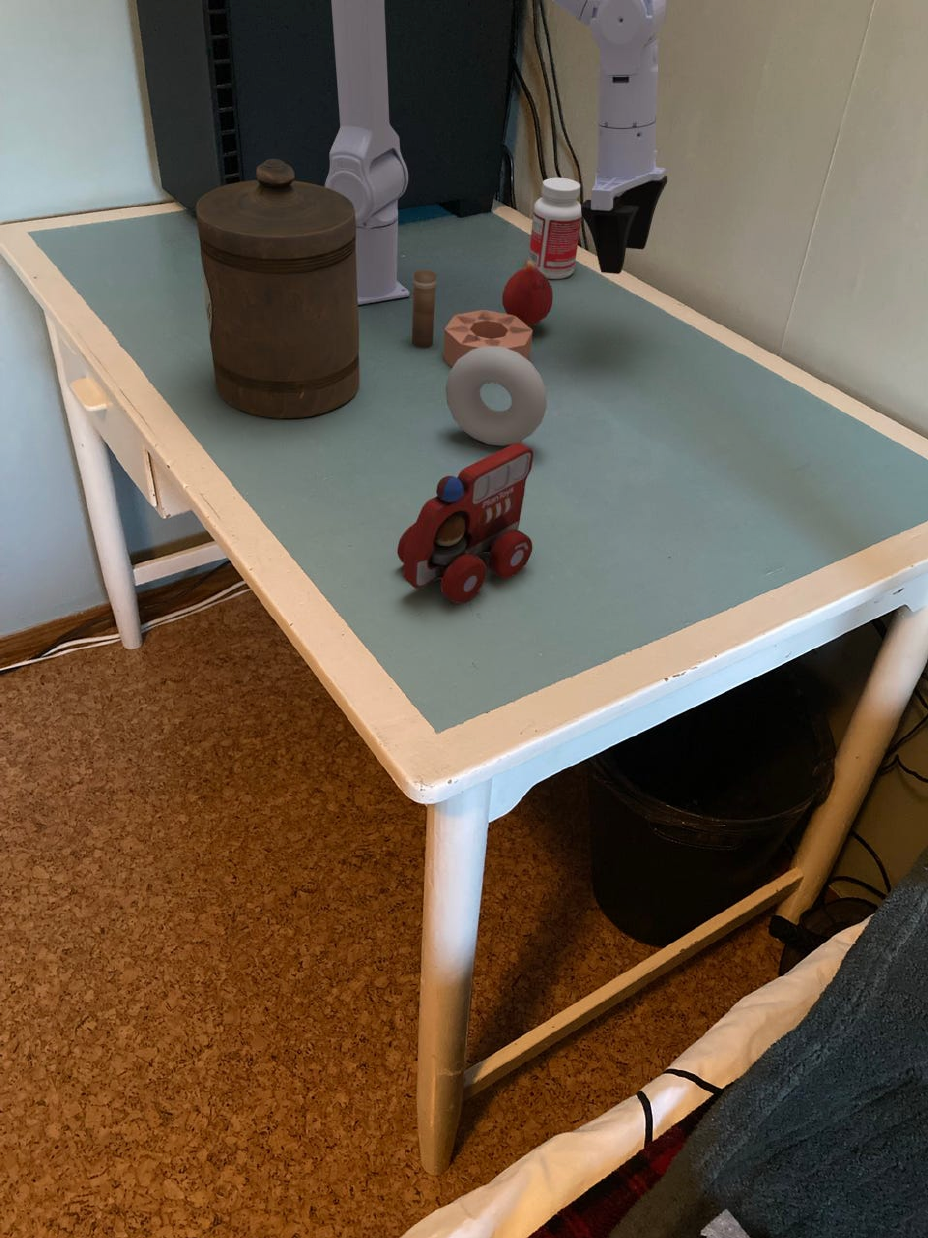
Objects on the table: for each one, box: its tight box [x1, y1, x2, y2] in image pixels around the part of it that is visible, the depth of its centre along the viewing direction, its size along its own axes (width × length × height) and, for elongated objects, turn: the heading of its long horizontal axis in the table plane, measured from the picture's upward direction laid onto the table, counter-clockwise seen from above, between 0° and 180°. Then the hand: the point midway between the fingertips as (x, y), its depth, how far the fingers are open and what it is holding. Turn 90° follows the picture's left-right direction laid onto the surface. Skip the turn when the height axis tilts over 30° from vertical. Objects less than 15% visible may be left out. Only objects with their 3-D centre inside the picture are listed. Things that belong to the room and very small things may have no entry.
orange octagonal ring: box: [442, 309, 534, 369], centre depth 107 cm, size 9×9×4 cm
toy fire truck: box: [396, 442, 534, 604], centre depth 77 cm, size 7×12×10 cm, turn 132°
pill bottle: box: [527, 177, 583, 280], centre depth 123 cm, size 6×6×11 cm
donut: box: [445, 346, 548, 447], centre depth 92 cm, size 10×3×10 cm, turn 71°
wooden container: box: [195, 158, 360, 419], centre depth 94 cm, size 15×15×22 cm
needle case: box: [411, 269, 437, 349], centre depth 107 cm, size 2×2×8 cm
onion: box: [501, 260, 554, 328], centre depth 111 cm, size 6×6×8 cm
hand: (623, 259), depth 104 cm, fingers open, 7 cm apart
